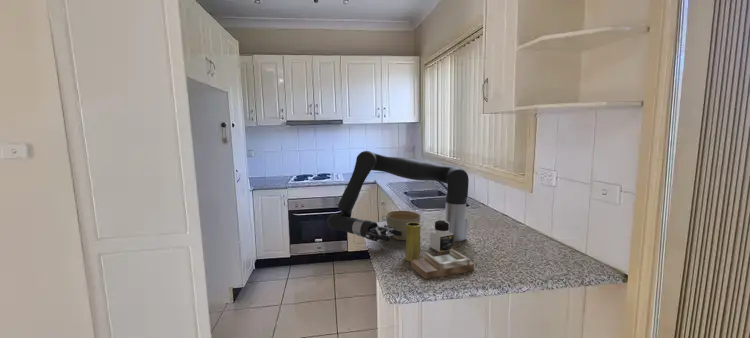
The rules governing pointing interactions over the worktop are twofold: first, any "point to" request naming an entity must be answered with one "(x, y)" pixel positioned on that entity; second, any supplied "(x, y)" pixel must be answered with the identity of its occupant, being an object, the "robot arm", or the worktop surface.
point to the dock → (442, 265)
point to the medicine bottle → (441, 237)
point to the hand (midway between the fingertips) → (395, 236)
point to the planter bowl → (401, 221)
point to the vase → (412, 241)
